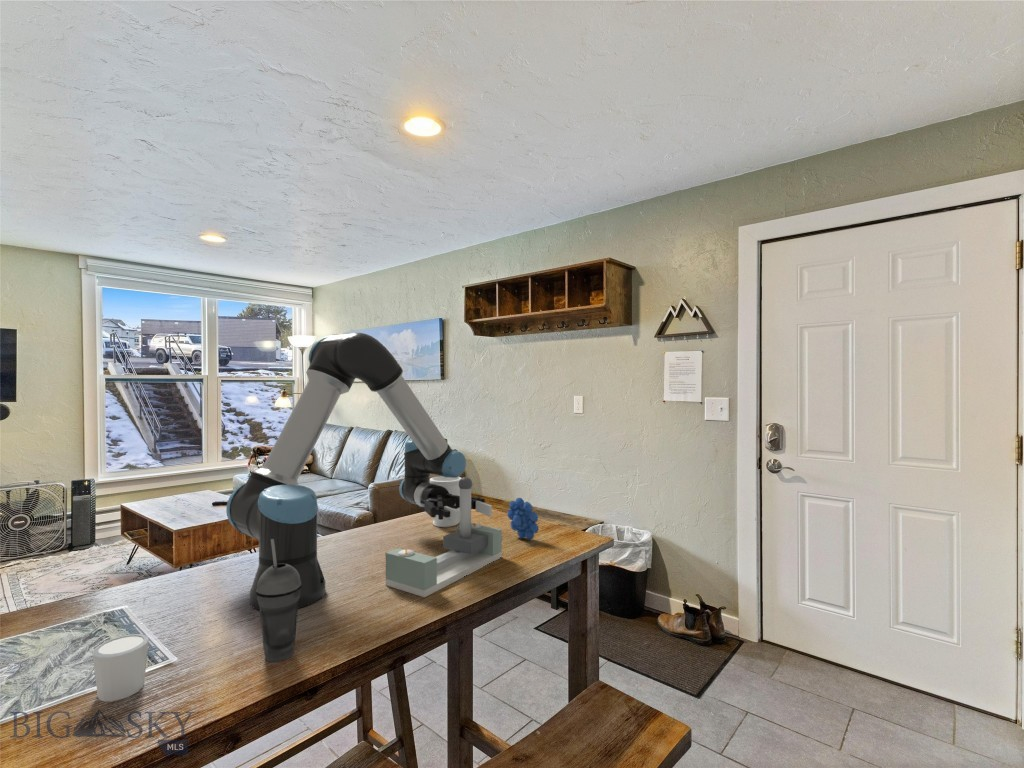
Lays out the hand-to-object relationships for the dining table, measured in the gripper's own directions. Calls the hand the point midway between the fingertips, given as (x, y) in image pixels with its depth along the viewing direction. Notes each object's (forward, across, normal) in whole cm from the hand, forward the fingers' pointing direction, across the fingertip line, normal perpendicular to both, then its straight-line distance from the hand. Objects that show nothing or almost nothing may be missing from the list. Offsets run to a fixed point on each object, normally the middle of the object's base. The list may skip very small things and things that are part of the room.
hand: (474, 513), depth 129 cm
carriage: (-5, 0, -10) cm, 11 cm away
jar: (-38, -13, -14) cm, 43 cm away
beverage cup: (+15, +50, -14) cm, 53 cm away
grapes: (-11, -23, -14) cm, 29 cm away
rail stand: (-2, +7, -14) cm, 15 cm away
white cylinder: (+11, +71, -14) cm, 73 cm away
